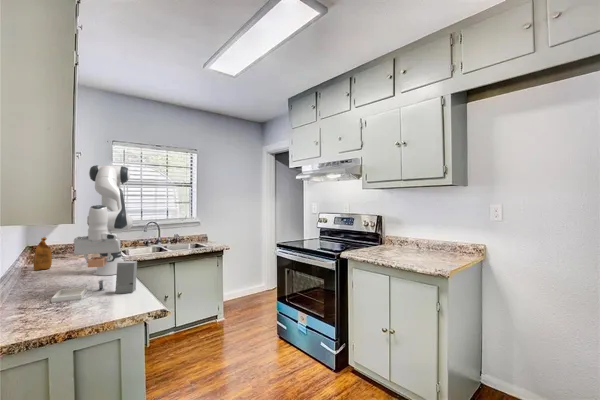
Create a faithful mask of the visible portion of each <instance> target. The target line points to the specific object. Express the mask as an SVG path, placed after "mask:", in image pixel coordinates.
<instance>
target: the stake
mask: <svg viewBox="0 0 600 400" xmlns="http://www.w3.org/2000/svg"><path fill="white" fill-rule="evenodd" d="M98 285H99V286H98V289H97V291H98V292H102V291H105V288H104V280H99V281H98Z"/></svg>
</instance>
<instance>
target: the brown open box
mask: <svg viewBox="0 0 600 400" xmlns="http://www.w3.org/2000/svg"><path fill="white" fill-rule="evenodd" d="M105 258H107V257H100V256H92V257H91V258H88V259H89V260H88V263H87V268H97V267H103V266H104V265H105V264H106V263H107V262H105Z"/></svg>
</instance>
